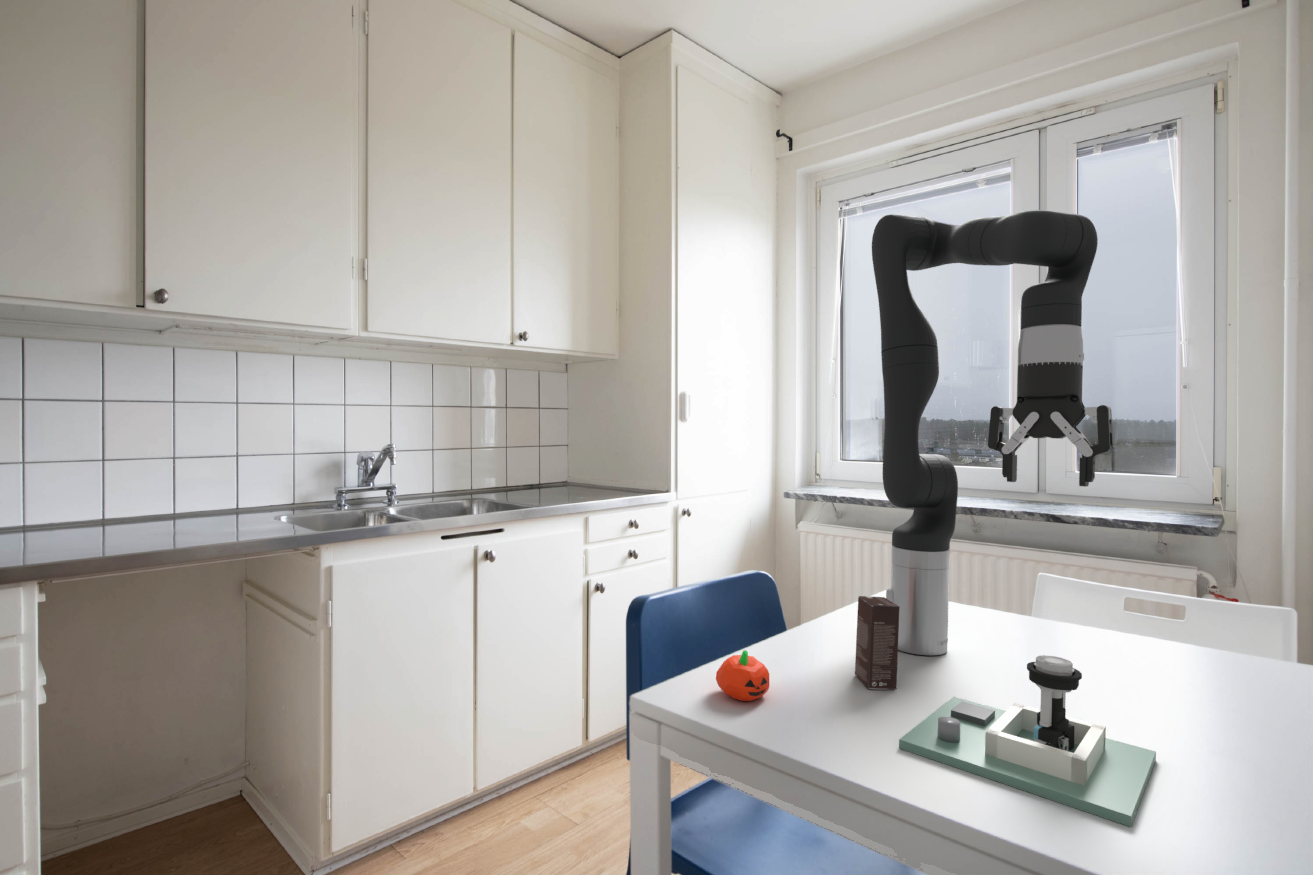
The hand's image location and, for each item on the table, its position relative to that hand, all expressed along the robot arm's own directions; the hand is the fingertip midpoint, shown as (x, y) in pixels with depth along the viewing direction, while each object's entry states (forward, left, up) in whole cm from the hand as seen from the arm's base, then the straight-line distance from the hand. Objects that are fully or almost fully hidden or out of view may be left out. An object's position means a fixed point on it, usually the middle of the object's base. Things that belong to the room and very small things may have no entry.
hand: (1046, 483), depth 89 cm
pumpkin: (-31, -25, -30) cm, 50 cm away
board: (+2, -16, -30) cm, 34 cm away
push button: (+4, -16, -29) cm, 33 cm away
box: (-20, -7, -30) cm, 37 cm away
